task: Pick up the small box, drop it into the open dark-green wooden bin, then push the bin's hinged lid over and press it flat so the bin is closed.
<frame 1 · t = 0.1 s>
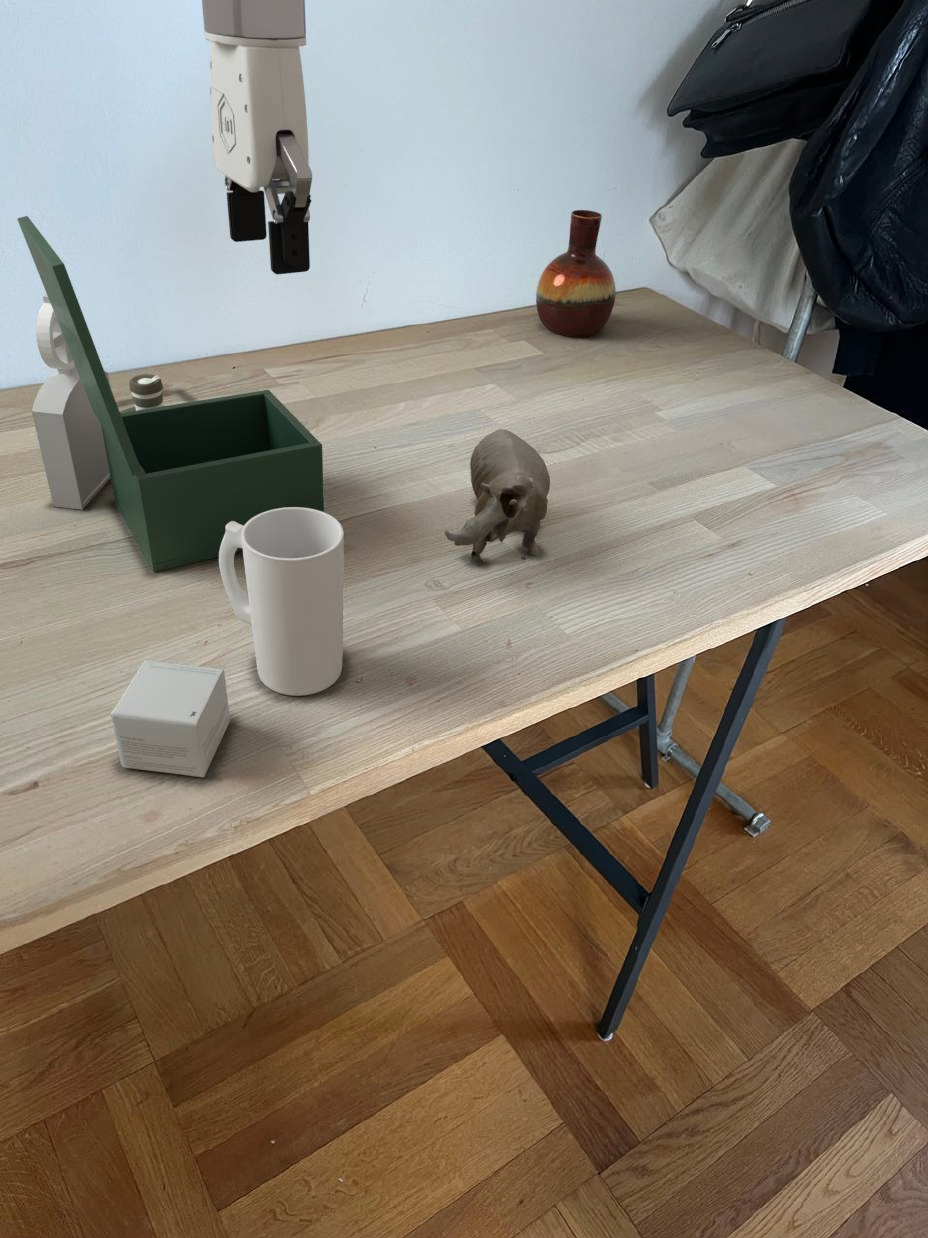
hand: (268, 255, 80), 21 cm above the table, tool pointing down, fingers open, 9 cm apart
rhinoceros figurine: (496, 547, 85), on the table
vase: (570, 328, 133), on the table
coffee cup: (152, 423, 100), on the table
mug: (282, 663, 70), on the table
small box: (178, 746, 62), on the table
bin: (219, 517, 86), on the table
bin lid: (80, 347, 71), point 17 cm above the table, hinge at 100.0°
gravestone: (90, 485, 89), on the table
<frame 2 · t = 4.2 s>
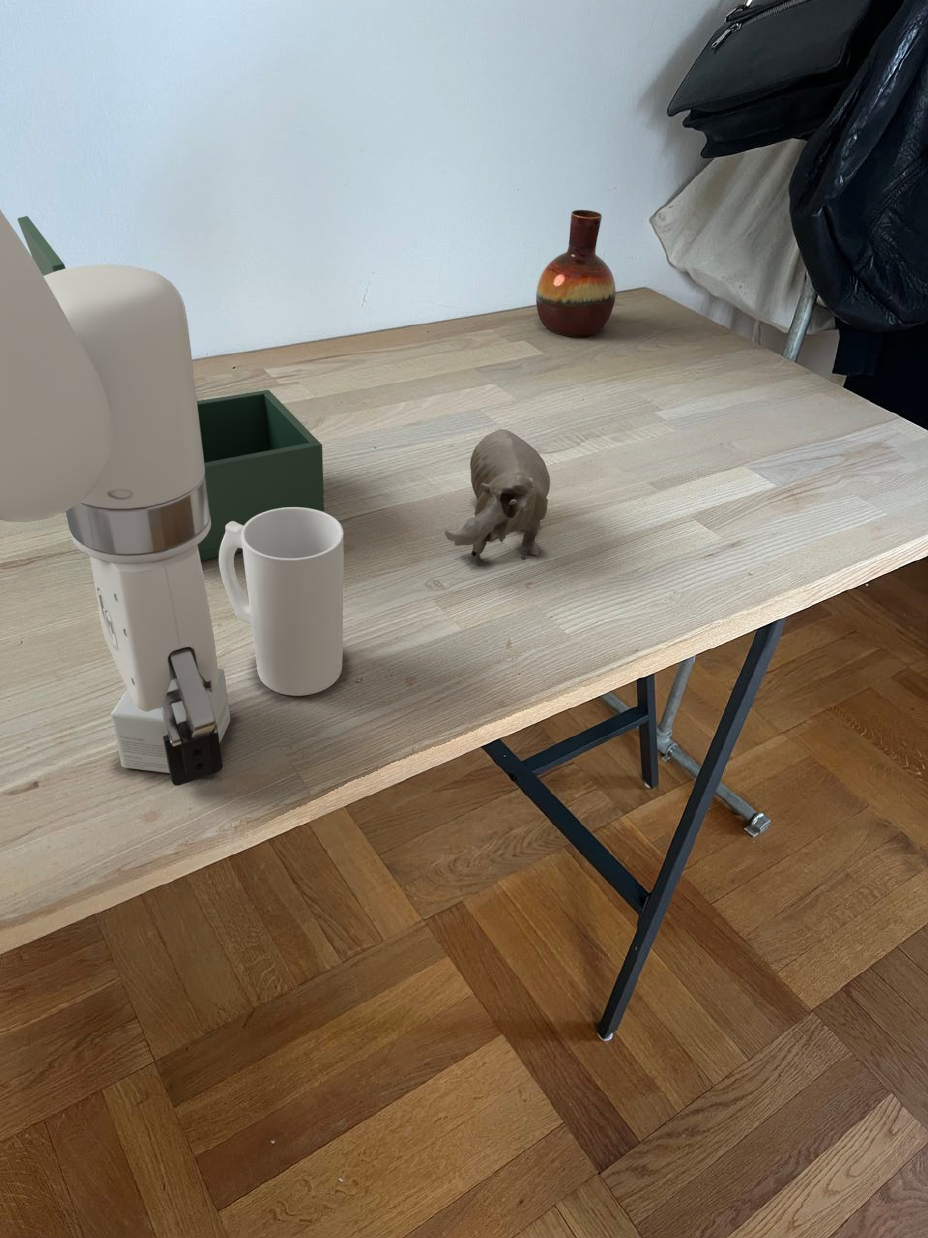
hand: (177, 733, 62), 1 cm above the table, tool pointing down, fingers closed on small box, 7 cm apart
small box: (178, 746, 62), on the table, touching gripper
everything else where it was.
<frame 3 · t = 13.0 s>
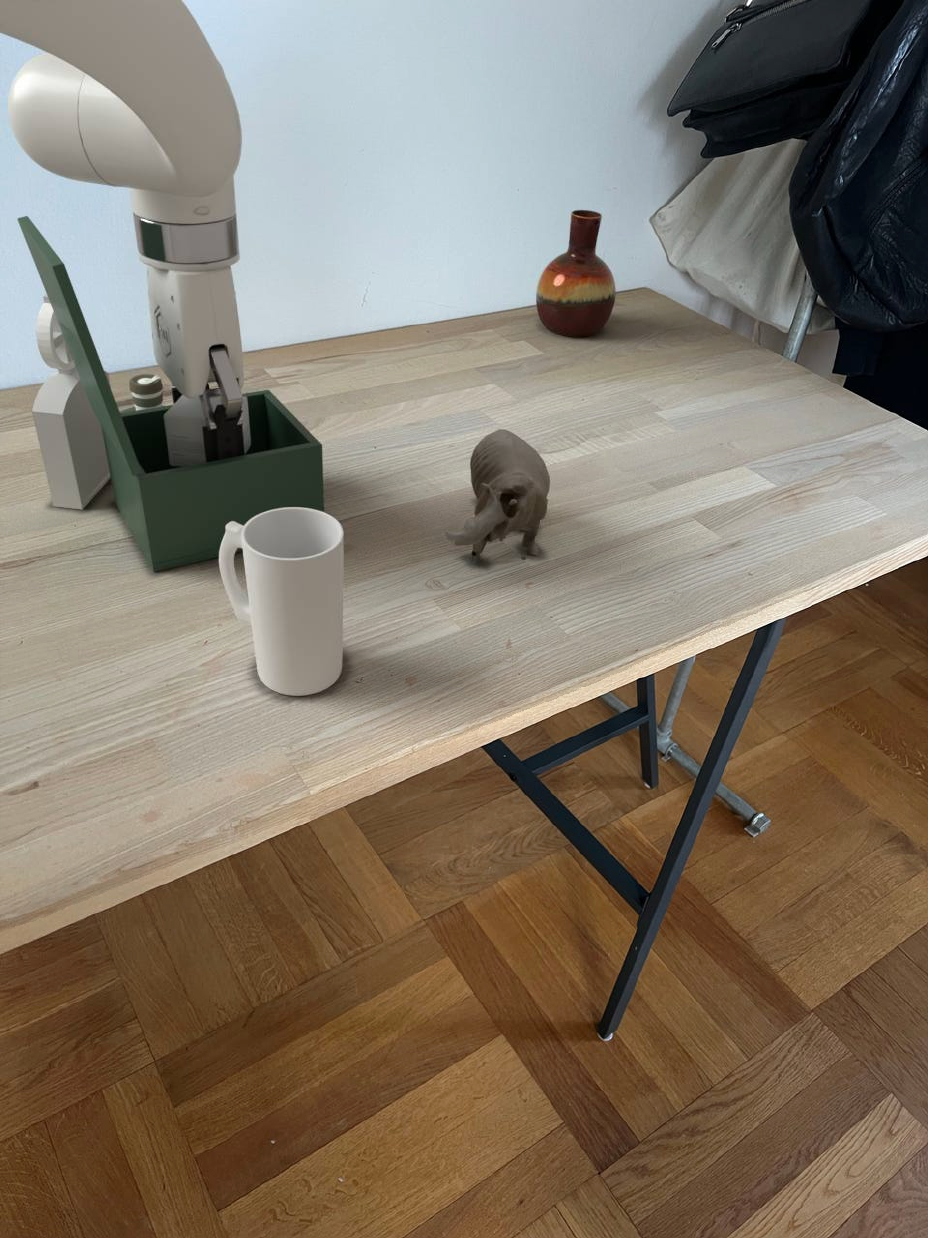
hand: (210, 446, 81), 7 cm above the table, tool pointing down, fingers closed on small box, 7 cm apart
small box: (211, 458, 82), point 6 cm above the table, touching gripper
everything else where it was.
when the fingers open (10 cm above the table, at t = 36.9 s): small box drops 9 cm, resting on bin.
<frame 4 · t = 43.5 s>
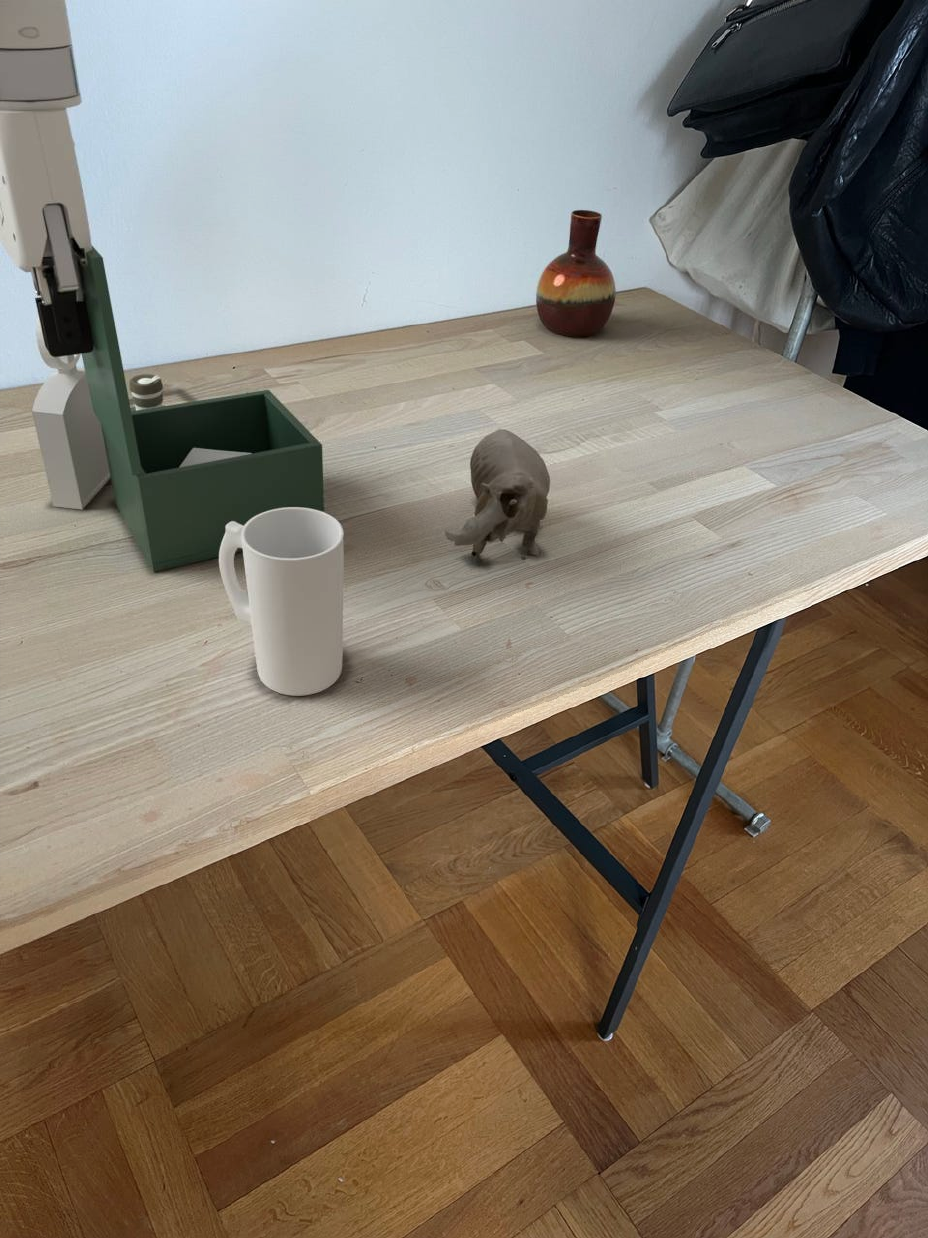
hand: (70, 350, 71), 17 cm above the table, tool pointing down, fingers closed
small box: (218, 512, 85), point 1 cm above the table, touching bin
bin lid: (97, 344, 72), point 17 cm above the table, hinge at 91.1°, touching gripper
everything else where it was.
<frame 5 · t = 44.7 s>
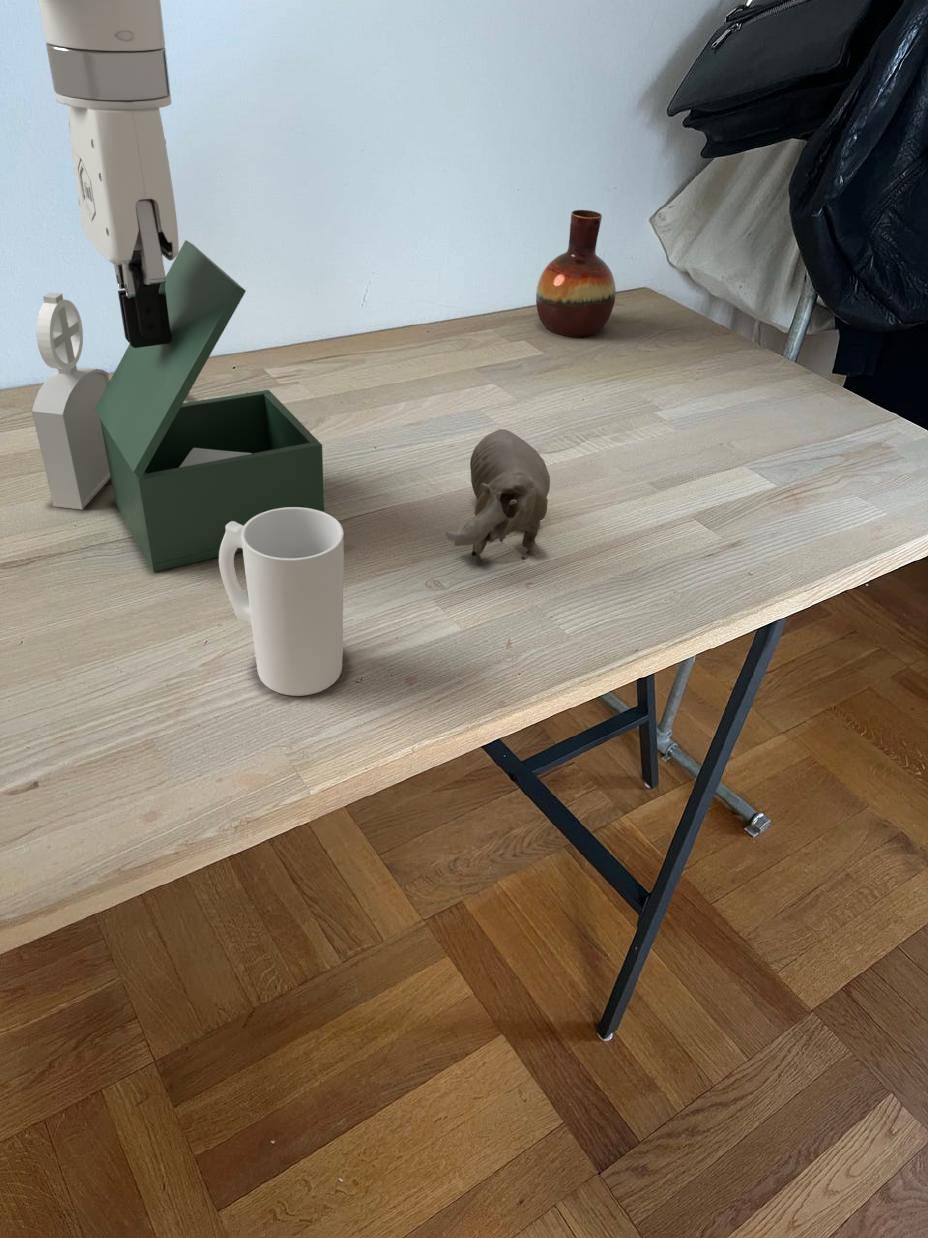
hand: (148, 341, 73), 17 cm above the table, tool pointing down, fingers closed
bin lid: (164, 354, 75), point 16 cm above the table, hinge at 54.5°, touching gripper
everything else where it was.
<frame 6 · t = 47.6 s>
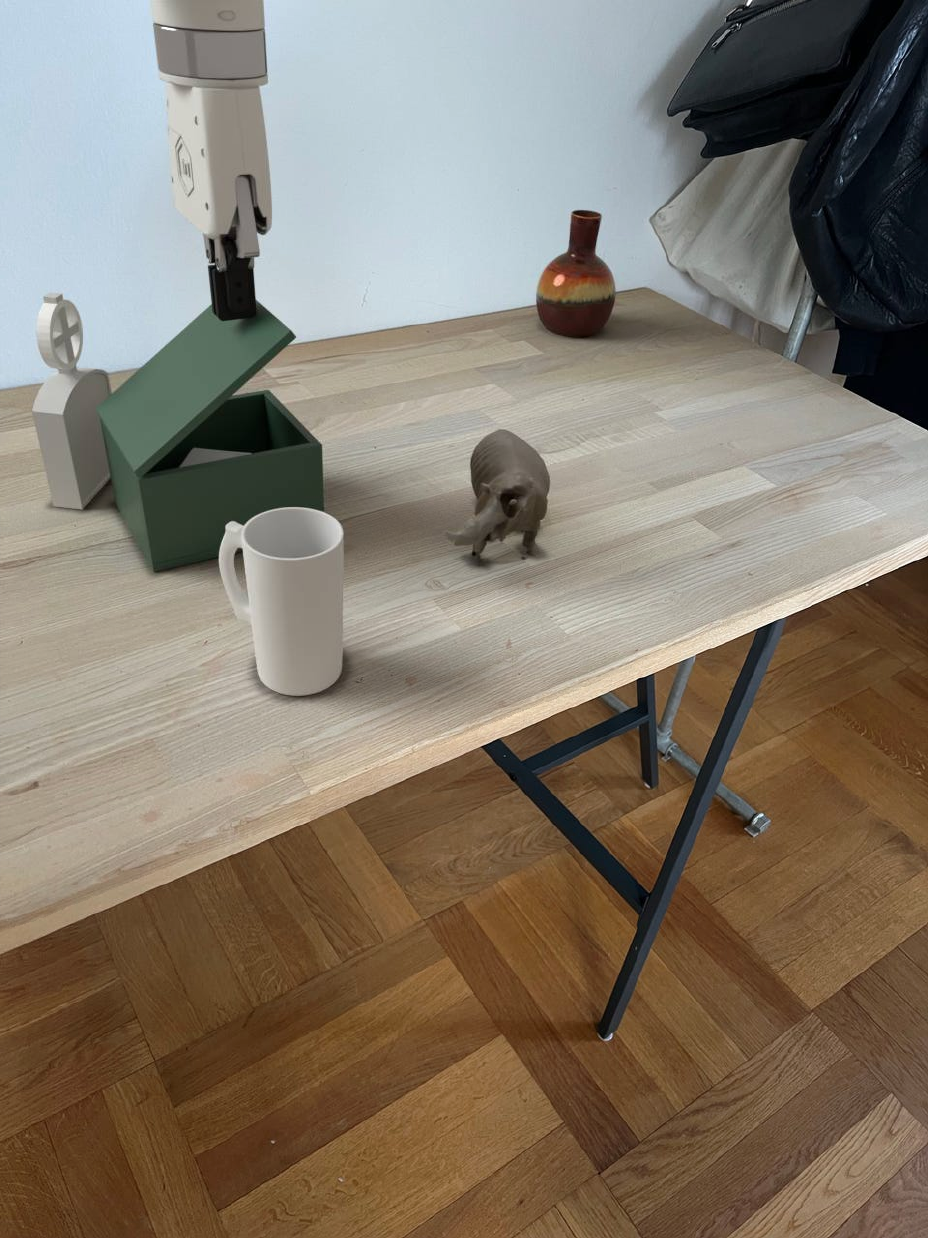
hand: (234, 315, 76), 18 cm above the table, tool pointing down, fingers closed
bin lid: (191, 374, 77), point 14 cm above the table, hinge at 35.2°, touching gripper
everything else where it was.
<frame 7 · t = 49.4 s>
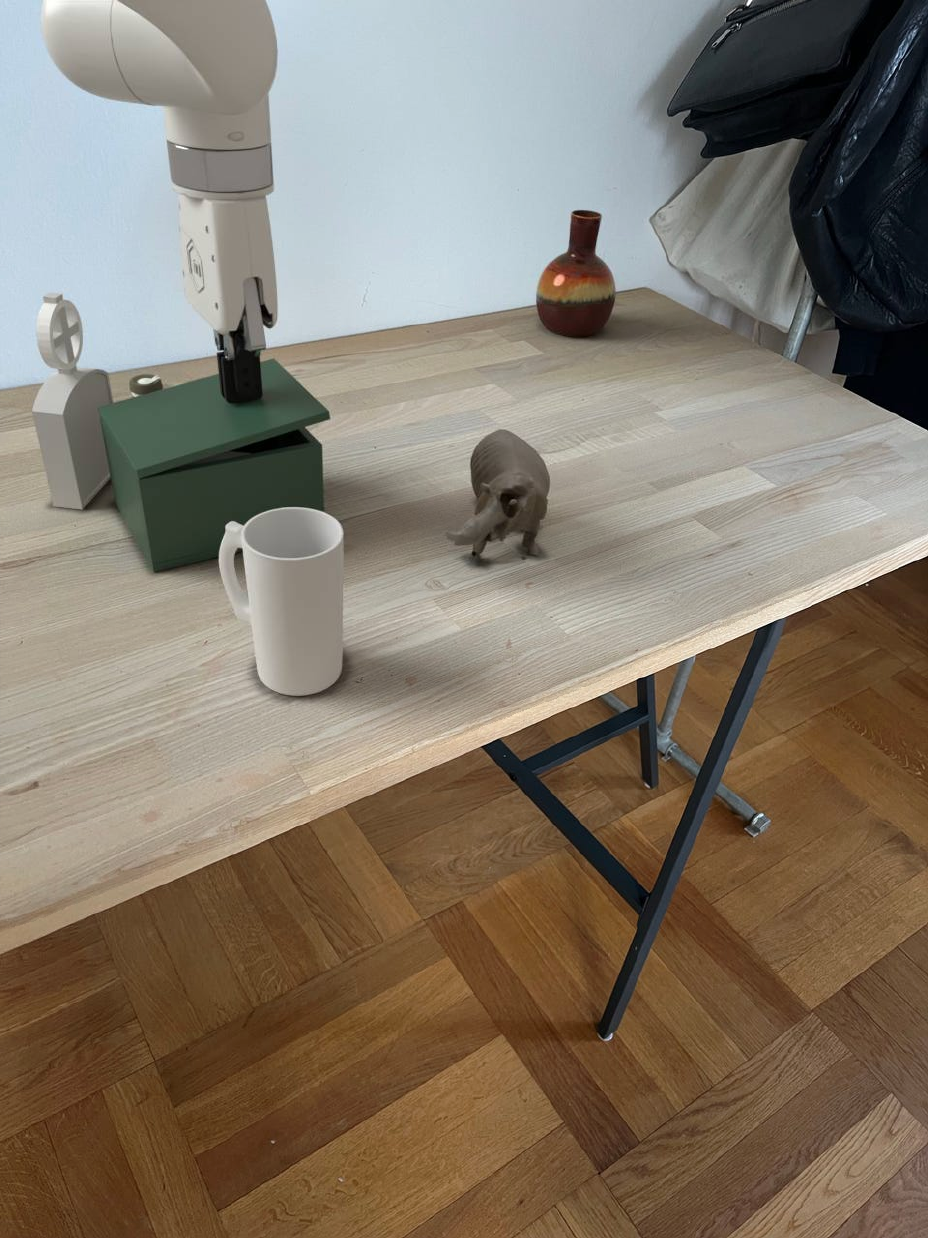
hand: (242, 397, 80), 11 cm above the table, tool pointing down, fingers closed
bin lid: (212, 413, 80), point 10 cm above the table, hinge at 7.4°, touching gripper
everything else where it was.
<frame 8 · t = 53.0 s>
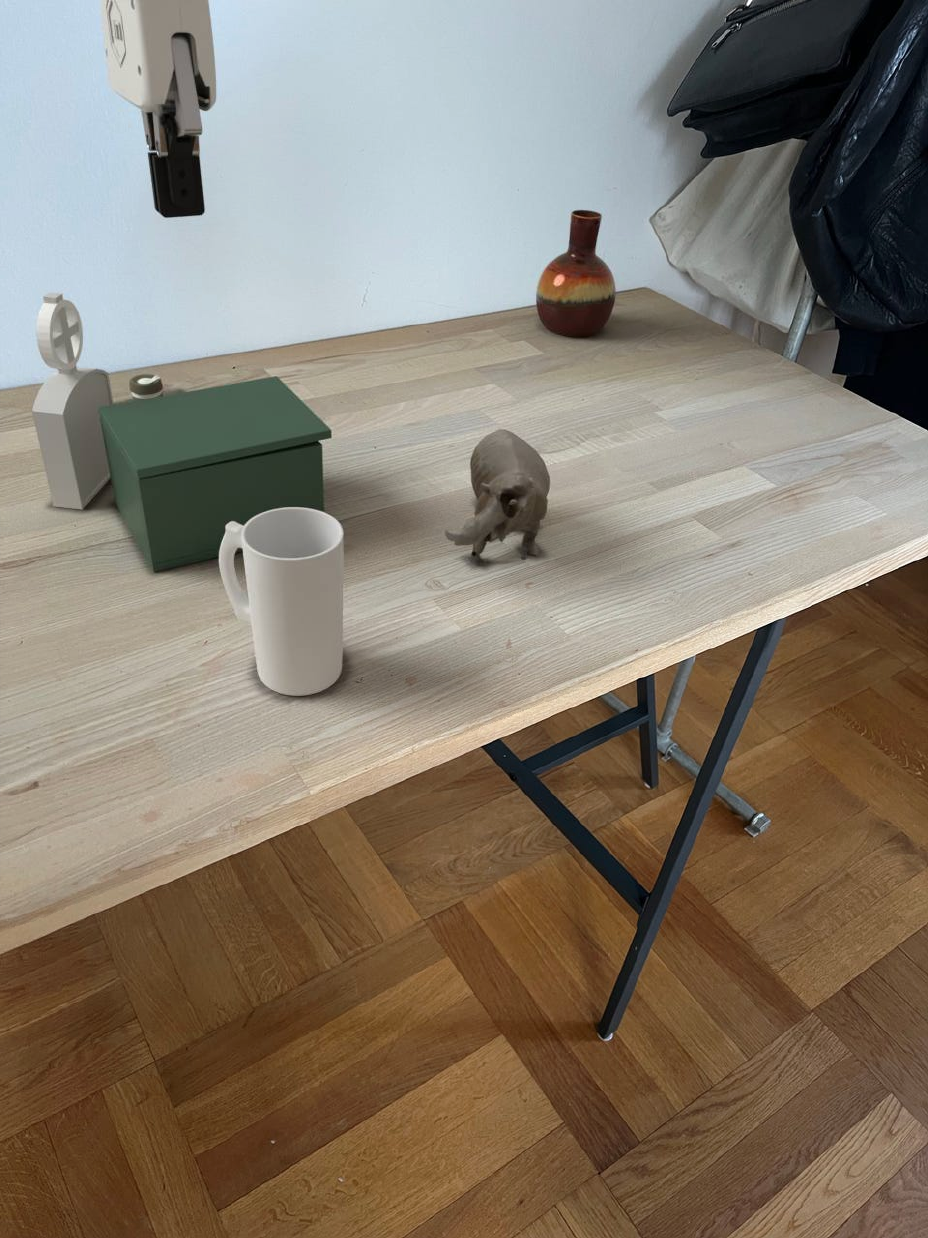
hand: (180, 213, 68), 27 cm above the table, tool pointing down, fingers closed
bin lid: (214, 422, 80), point 9 cm above the table, hinge at 1.3°
everything else where it was.
at the end: small box inside the target area in the bin (0.0 cm from its centre), point 0.6 cm above the bin's base; bin lid at +1° (first picture: +100°); the gripper is holding nothing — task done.
